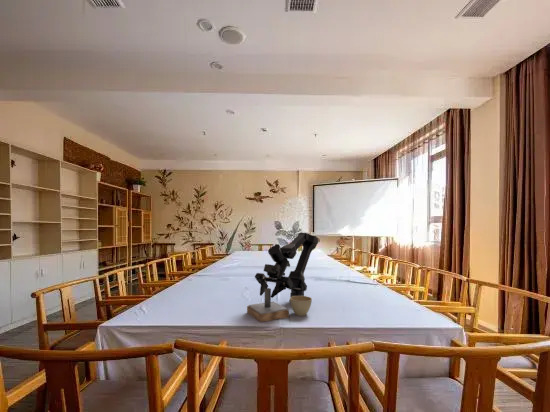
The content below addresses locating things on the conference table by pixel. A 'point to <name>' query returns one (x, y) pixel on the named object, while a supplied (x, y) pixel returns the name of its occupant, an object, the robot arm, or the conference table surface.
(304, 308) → the flower pot
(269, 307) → the cover
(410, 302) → the conference table surface
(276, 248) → the robot arm
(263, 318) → the stand
